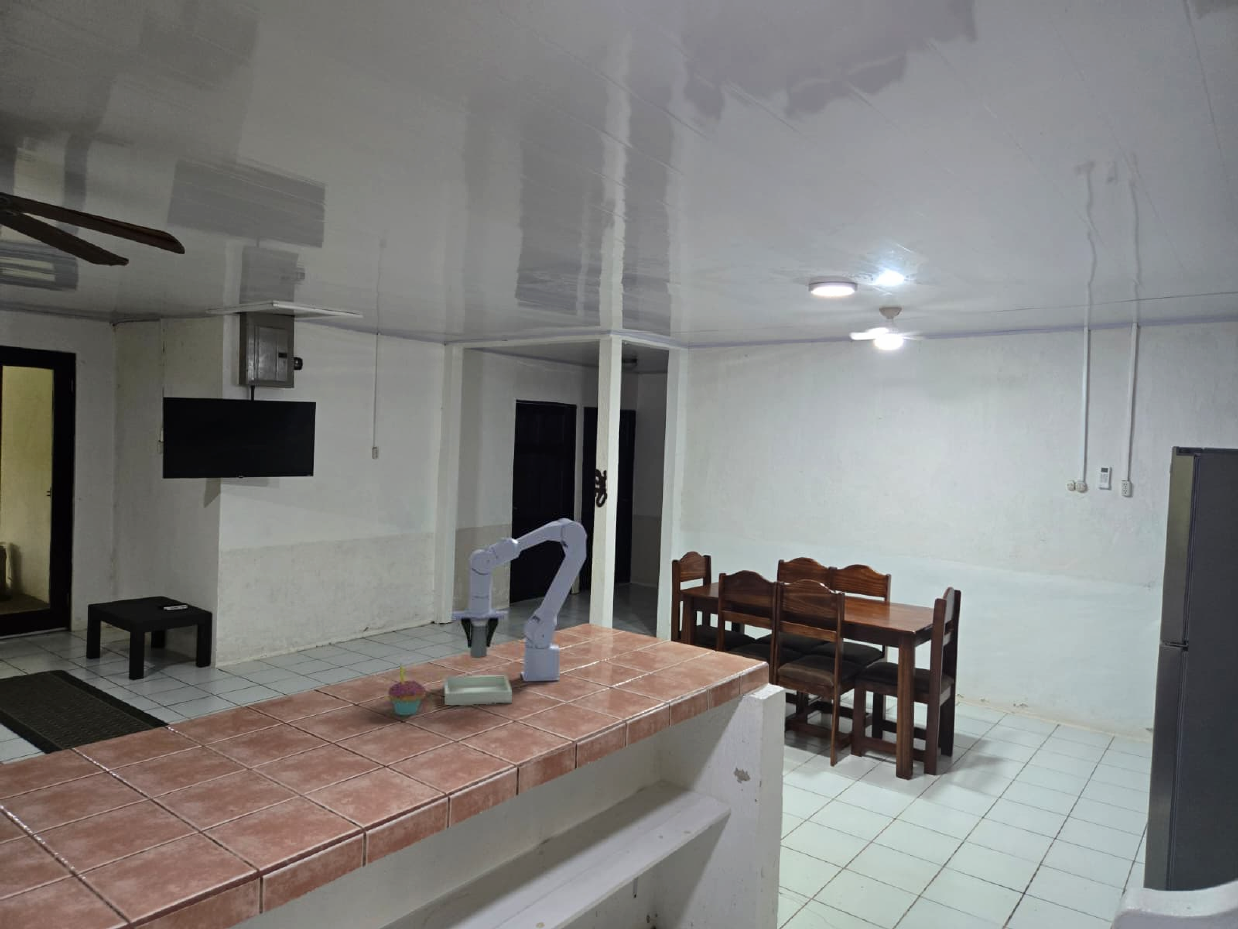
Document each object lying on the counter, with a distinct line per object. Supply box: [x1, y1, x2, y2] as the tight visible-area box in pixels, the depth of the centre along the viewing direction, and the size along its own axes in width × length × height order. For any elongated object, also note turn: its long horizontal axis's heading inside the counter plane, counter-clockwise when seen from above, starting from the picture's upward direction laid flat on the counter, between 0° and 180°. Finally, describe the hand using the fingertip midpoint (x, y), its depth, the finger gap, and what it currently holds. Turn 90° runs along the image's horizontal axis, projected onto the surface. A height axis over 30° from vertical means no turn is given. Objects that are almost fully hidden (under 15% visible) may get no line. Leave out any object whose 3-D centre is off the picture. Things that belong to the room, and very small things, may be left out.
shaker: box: [469, 619, 488, 659], centre depth 218 cm, size 5×5×10 cm
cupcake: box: [387, 662, 427, 716], centre depth 192 cm, size 9×8×12 cm
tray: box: [443, 674, 513, 706], centre depth 206 cm, size 16×14×3 cm
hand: (478, 646), depth 218 cm, fingers closed on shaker, 4 cm apart
